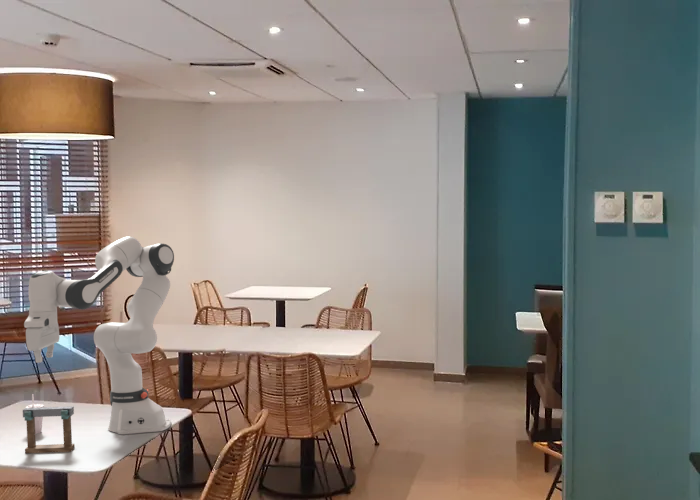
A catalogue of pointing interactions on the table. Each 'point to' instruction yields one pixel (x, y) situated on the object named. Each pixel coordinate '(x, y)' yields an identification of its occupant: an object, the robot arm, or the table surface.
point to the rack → (54, 447)
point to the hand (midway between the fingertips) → (44, 359)
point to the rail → (48, 411)
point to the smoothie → (37, 419)
